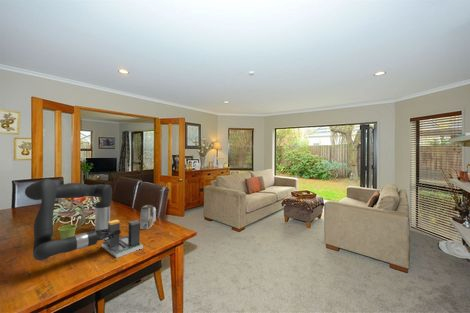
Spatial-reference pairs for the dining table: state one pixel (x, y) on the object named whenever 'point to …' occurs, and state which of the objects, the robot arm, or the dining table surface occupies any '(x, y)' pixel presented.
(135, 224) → the twin post stand
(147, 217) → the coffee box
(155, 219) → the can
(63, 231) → the plant pot
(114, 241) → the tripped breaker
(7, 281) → the dining table surface
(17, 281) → the dining table surface
